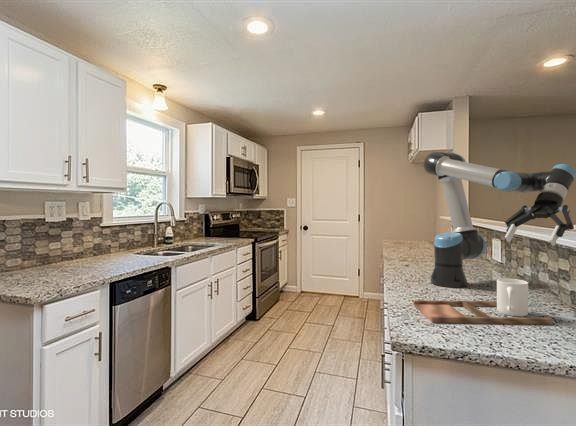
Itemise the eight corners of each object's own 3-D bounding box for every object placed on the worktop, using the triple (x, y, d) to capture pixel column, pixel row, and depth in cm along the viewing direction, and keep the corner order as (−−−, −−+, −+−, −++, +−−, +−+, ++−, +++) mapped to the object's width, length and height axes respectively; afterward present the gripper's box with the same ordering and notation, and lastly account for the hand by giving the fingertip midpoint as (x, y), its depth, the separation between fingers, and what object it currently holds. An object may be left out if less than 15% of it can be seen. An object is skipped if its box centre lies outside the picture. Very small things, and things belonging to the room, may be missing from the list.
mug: (493, 316, 102) (493, 283, 102) (498, 307, 112) (498, 277, 111) (526, 322, 97) (526, 287, 97) (529, 312, 106) (529, 280, 106)
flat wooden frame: (513, 305, 113) (512, 301, 113) (551, 324, 95) (551, 319, 95) (413, 304, 116) (413, 300, 116) (432, 322, 97) (432, 317, 97)
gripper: (509, 192, 125) (487, 231, 119) (591, 188, 103) (569, 236, 96) (517, 205, 128) (495, 244, 121) (599, 204, 105) (577, 252, 99)
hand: (528, 241), depth 109 cm, fingers open, 13 cm apart
